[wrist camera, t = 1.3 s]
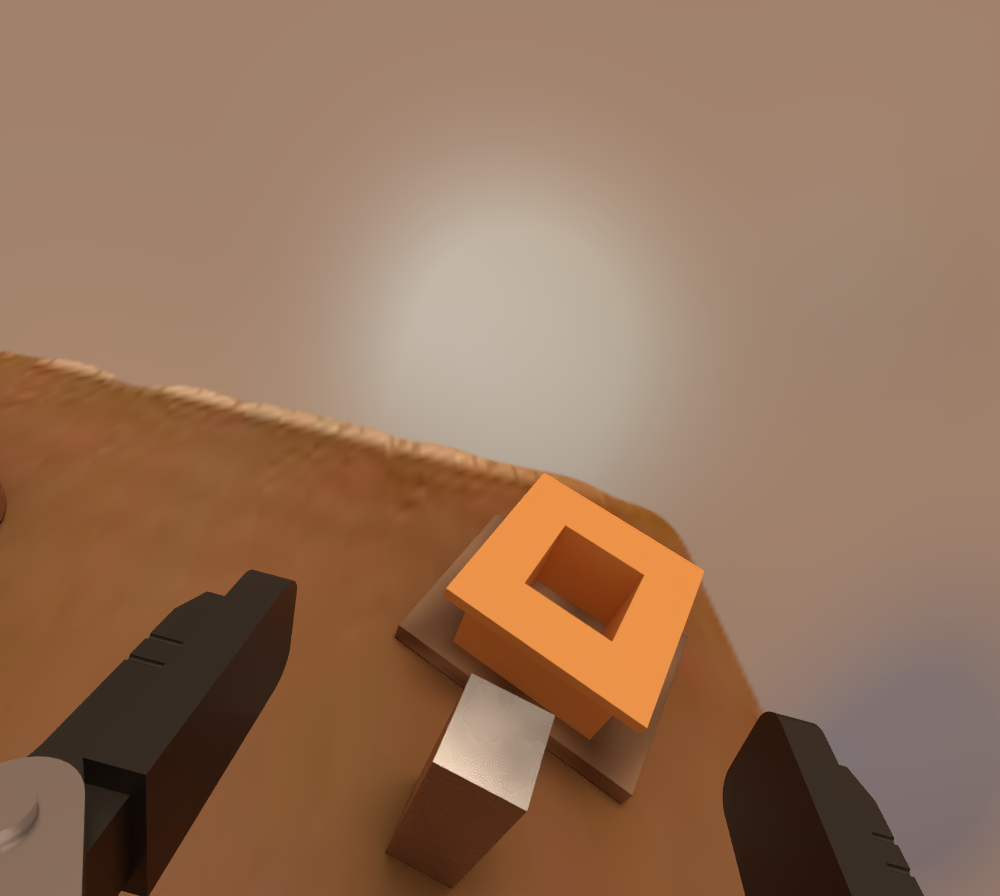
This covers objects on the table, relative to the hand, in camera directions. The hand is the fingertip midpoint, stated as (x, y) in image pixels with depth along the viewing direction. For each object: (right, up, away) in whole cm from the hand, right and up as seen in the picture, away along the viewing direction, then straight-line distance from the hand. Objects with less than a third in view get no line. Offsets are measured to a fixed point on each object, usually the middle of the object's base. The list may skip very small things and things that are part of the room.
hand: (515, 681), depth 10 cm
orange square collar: (+3, -8, +28) cm, 29 cm away
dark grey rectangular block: (-4, -15, +19) cm, 25 cm away
